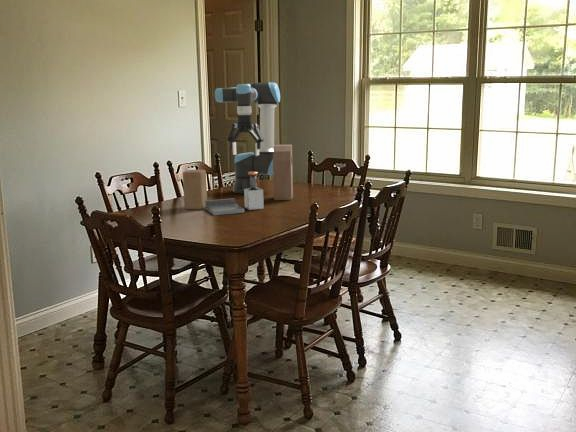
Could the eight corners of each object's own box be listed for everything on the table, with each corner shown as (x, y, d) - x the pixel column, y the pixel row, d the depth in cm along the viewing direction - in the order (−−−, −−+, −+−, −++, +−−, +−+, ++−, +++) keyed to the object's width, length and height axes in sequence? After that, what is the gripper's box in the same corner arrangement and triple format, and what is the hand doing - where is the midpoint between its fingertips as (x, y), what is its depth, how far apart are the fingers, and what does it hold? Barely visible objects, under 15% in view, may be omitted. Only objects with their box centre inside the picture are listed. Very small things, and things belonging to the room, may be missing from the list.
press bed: (205, 208, 336) (205, 200, 335) (235, 206, 341) (234, 198, 340) (213, 215, 319) (213, 206, 318) (244, 212, 325) (244, 204, 324)
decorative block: (293, 196, 364) (291, 144, 358) (291, 200, 354) (290, 146, 348) (276, 196, 365) (274, 144, 359) (273, 200, 355) (272, 146, 349)
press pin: (247, 192, 335) (247, 171, 333) (256, 191, 337) (256, 171, 335) (250, 194, 331) (249, 173, 328) (259, 193, 332) (259, 172, 330)
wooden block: (202, 210, 333) (200, 172, 329) (184, 209, 335) (181, 172, 331) (208, 206, 343) (206, 169, 339) (190, 205, 345) (188, 169, 341)
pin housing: (244, 207, 338) (244, 188, 336) (259, 205, 341) (258, 187, 338) (249, 210, 330) (248, 191, 328) (263, 208, 333) (263, 189, 331)
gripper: (220, 114, 333) (221, 155, 337) (262, 114, 323) (264, 156, 327) (227, 113, 340) (228, 153, 344) (269, 113, 329) (270, 154, 334)
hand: (246, 155), depth 336 cm, fingers open, 13 cm apart
